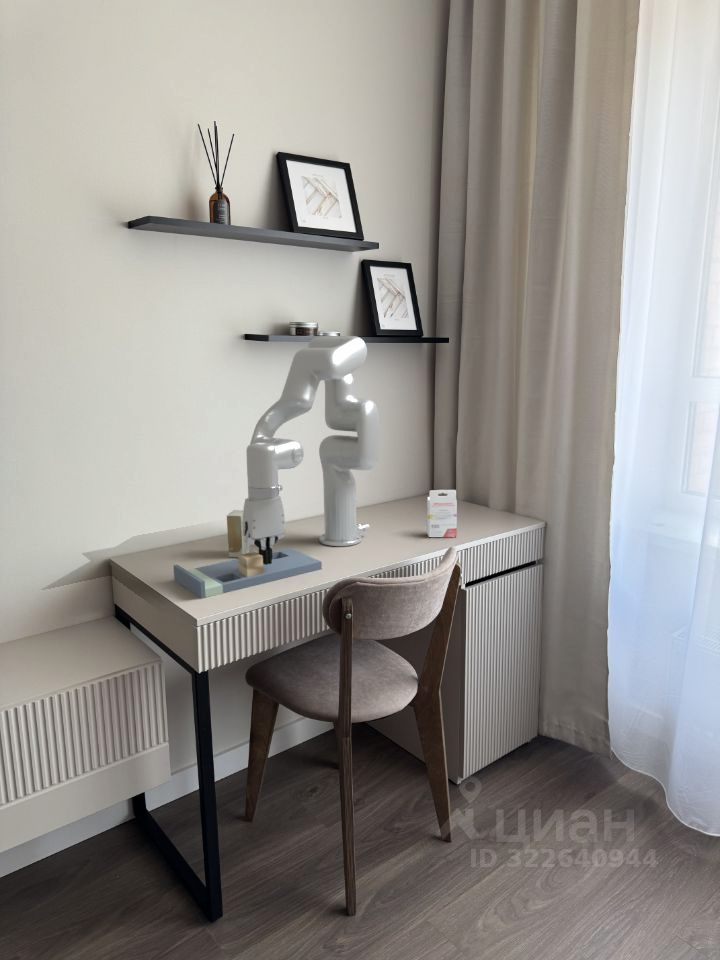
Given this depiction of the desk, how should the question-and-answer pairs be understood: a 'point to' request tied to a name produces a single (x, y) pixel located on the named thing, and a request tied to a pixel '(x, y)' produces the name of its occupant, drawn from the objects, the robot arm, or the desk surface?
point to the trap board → (229, 578)
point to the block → (250, 564)
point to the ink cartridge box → (442, 513)
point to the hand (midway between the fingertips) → (266, 562)
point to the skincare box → (236, 534)
